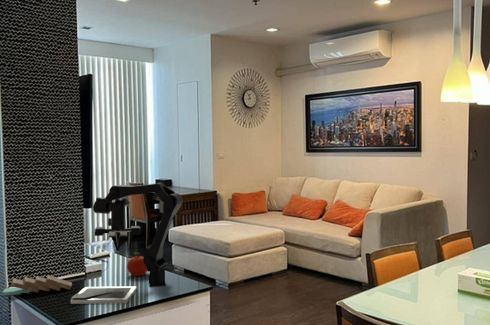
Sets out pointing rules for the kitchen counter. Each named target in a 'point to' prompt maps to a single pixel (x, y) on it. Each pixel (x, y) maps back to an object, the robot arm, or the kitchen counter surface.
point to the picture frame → (103, 295)
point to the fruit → (136, 265)
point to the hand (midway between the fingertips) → (117, 250)
